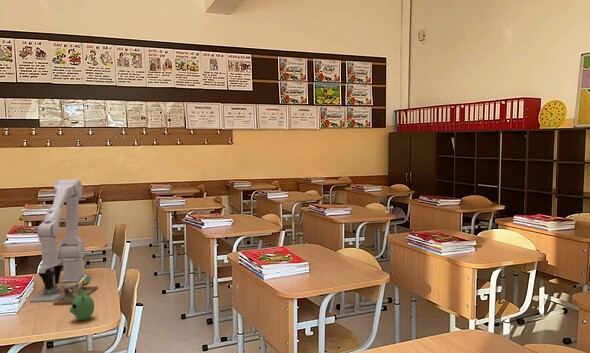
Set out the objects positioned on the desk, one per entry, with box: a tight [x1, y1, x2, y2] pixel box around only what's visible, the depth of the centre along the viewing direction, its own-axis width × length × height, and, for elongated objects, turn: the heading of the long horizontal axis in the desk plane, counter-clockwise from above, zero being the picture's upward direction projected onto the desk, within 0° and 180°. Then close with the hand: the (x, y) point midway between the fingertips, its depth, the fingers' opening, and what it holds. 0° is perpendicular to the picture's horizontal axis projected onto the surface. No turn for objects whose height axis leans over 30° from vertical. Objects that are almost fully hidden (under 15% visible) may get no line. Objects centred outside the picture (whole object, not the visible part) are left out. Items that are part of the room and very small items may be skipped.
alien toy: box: [69, 290, 95, 321], centre depth 164 cm, size 7×8×10 cm
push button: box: [43, 268, 62, 295], centre depth 194 cm, size 7×5×10 cm
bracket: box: [52, 283, 99, 306], centre depth 189 cm, size 19×9×6 cm, turn 1°
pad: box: [29, 293, 62, 303], centre depth 188 cm, size 7×9×1 cm
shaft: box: [67, 274, 92, 294], centre depth 191 cm, size 15×4×4 cm, turn 1°
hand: (52, 286), depth 194 cm, fingers closed on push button, 5 cm apart
